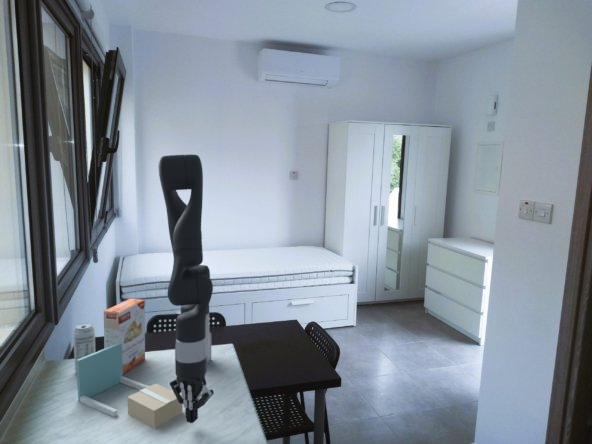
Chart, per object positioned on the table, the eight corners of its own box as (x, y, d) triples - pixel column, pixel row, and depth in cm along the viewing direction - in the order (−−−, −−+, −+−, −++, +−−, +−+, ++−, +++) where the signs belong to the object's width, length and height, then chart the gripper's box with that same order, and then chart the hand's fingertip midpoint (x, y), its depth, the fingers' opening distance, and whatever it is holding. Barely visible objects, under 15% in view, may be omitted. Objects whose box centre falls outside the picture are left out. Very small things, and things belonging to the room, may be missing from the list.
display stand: (120, 380, 132) (119, 342, 131) (155, 393, 125) (154, 353, 123) (78, 401, 120) (76, 359, 118) (114, 417, 113) (112, 373, 111)
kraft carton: (156, 400, 122) (155, 382, 121) (182, 413, 116) (182, 395, 115) (127, 414, 115) (127, 396, 114) (154, 429, 108) (154, 410, 108)
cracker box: (121, 377, 134) (119, 312, 131) (104, 375, 135) (101, 310, 132) (146, 358, 147) (145, 299, 145) (131, 356, 149) (129, 297, 146)
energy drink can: (97, 366, 141) (95, 321, 139) (94, 374, 135) (92, 328, 133) (77, 368, 139) (75, 323, 137) (73, 376, 133) (71, 330, 132)
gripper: (221, 355, 106) (221, 421, 108) (182, 344, 113) (182, 406, 115) (201, 367, 100) (201, 437, 102) (160, 354, 106) (161, 420, 108)
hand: (191, 421), depth 108 cm, fingers closed
